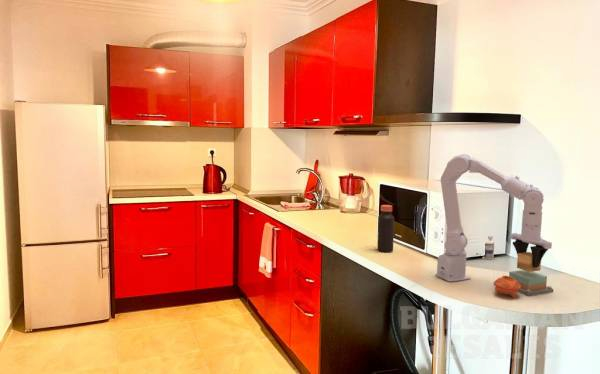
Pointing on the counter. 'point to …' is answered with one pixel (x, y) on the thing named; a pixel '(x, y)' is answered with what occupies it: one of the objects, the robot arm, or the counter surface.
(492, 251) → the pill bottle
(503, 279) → the orange rounded lump
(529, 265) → the ochre brick
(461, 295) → the counter surface
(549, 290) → the teal block with base
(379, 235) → the black water bottle
